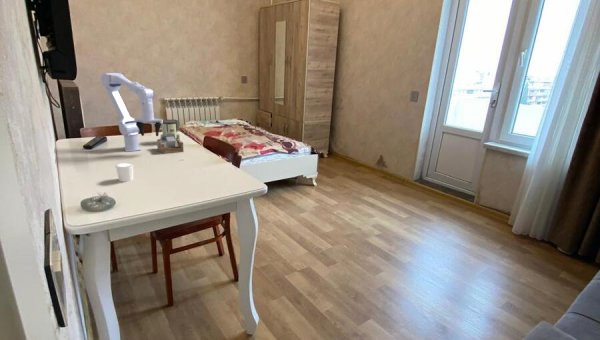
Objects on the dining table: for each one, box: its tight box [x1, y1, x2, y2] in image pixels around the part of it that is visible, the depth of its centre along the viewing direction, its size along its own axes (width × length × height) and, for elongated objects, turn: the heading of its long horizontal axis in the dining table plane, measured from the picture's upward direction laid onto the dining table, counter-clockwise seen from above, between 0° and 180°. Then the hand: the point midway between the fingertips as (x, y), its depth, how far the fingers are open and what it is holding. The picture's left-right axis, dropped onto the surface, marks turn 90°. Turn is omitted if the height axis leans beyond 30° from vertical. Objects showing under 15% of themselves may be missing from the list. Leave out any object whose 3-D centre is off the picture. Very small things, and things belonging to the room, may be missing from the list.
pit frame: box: [156, 138, 184, 155], centre depth 192 cm, size 13×12×6 cm
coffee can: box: [161, 119, 181, 141], centre depth 207 cm, size 10×10×14 cm
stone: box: [166, 136, 176, 148], centre depth 190 cm, size 4×4×4 cm
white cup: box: [115, 162, 134, 183], centre depth 144 cm, size 7×7×7 cm
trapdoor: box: [159, 133, 179, 148], centre depth 192 cm, size 10×9×3 cm
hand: (150, 135), depth 181 cm, fingers open, 7 cm apart
